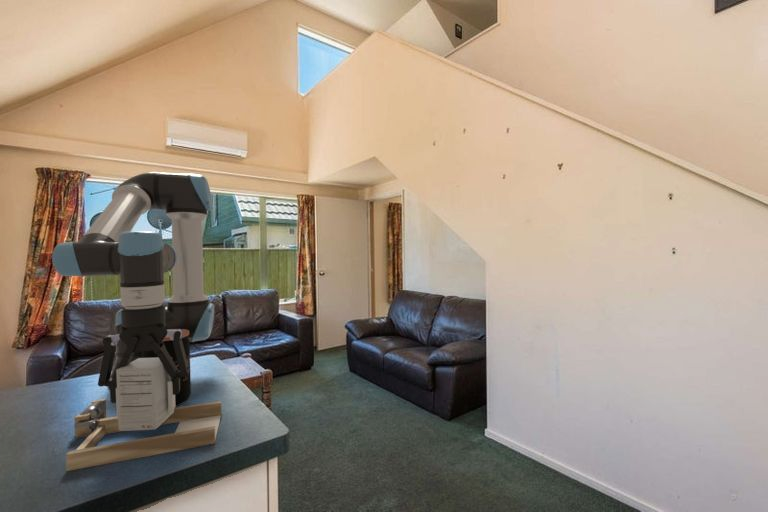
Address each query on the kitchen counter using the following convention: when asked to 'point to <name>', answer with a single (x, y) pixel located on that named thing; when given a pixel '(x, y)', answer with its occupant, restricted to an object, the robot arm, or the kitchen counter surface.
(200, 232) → the robot arm
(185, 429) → the front mat
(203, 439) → the bay
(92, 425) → the winch
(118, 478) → the kitchen counter surface
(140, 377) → the supplement box
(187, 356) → the coffee jar
